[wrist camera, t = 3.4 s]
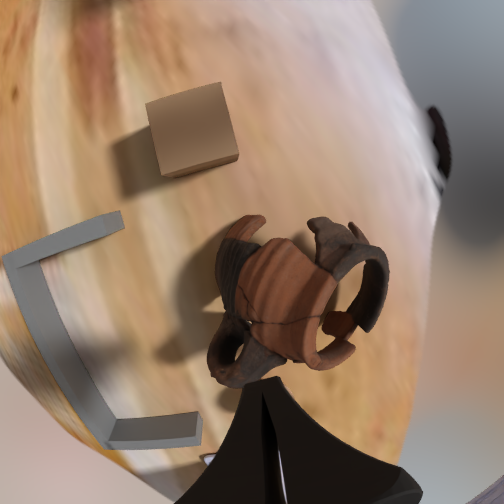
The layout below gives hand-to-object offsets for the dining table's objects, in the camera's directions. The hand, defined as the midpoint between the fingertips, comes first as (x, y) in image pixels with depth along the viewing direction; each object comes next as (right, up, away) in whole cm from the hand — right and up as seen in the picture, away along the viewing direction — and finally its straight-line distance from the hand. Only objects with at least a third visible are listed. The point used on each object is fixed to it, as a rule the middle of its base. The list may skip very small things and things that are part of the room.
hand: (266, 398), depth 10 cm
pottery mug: (+1, +3, +10) cm, 10 cm away
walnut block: (-4, +13, +7) cm, 15 cm away
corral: (-11, -1, +9) cm, 14 cm away
